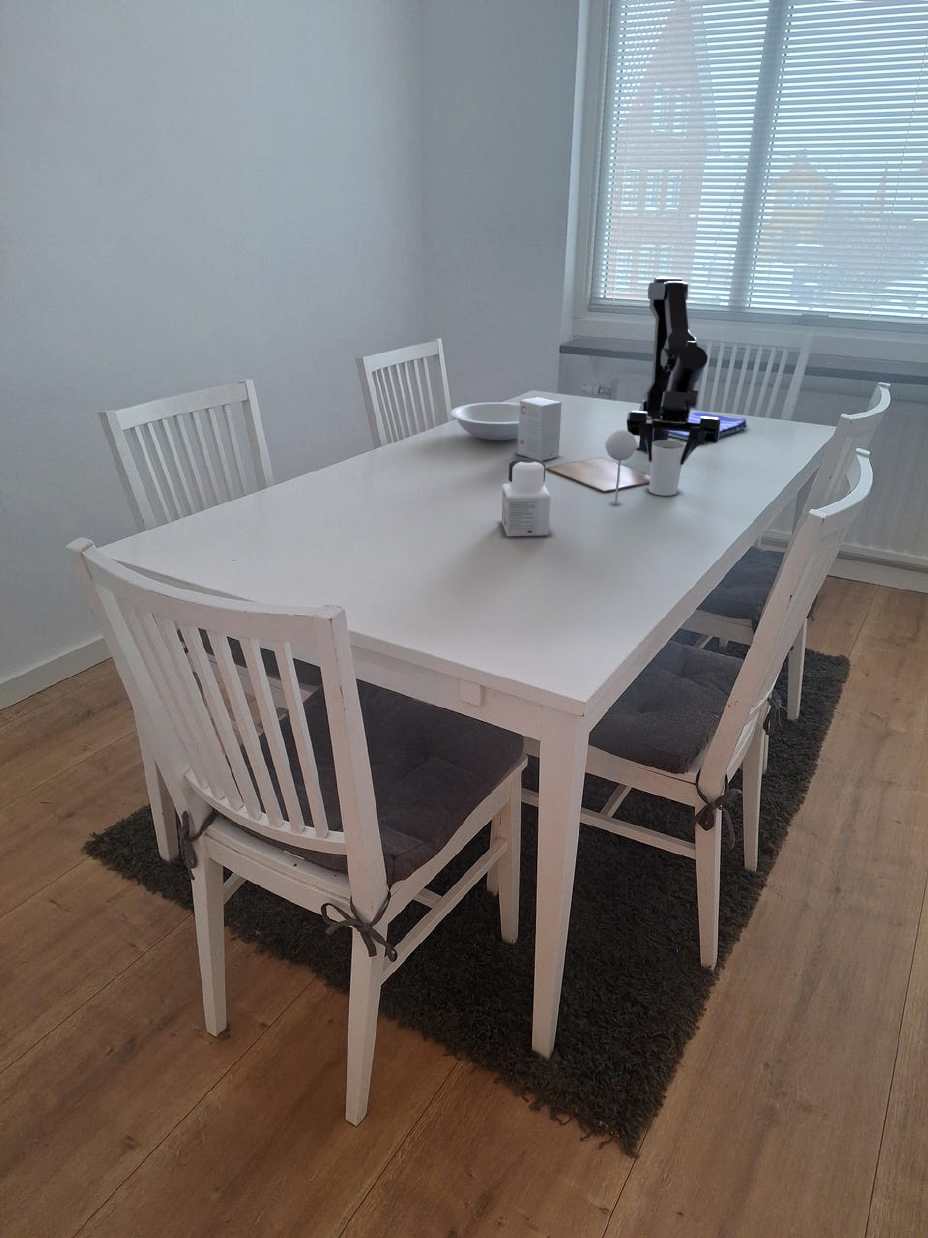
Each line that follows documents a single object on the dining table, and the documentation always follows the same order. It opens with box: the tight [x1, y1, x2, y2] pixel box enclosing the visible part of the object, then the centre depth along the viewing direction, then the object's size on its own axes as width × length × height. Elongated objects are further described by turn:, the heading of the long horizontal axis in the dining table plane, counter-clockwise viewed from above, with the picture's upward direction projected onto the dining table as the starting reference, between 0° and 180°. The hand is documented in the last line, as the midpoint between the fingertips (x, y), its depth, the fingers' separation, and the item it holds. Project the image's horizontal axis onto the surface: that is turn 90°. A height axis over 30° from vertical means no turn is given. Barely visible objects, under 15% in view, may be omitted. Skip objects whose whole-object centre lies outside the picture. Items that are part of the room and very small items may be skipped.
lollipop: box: [604, 429, 638, 506], centre depth 160 cm, size 6×6×15 cm
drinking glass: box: [648, 439, 686, 497], centre depth 169 cm, size 7×7×10 cm
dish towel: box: [668, 411, 748, 441], centre depth 218 cm, size 17×24×3 cm
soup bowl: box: [450, 402, 520, 441], centre depth 209 cm, size 24×24×7 cm
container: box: [501, 457, 552, 538], centre depth 148 cm, size 8×8×13 cm
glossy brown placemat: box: [546, 457, 650, 494], centre depth 182 cm, size 16×20×1 cm
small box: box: [517, 396, 562, 462], centre depth 193 cm, size 8×6×13 cm
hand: (665, 462), depth 167 cm, fingers closed on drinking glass, 6 cm apart
